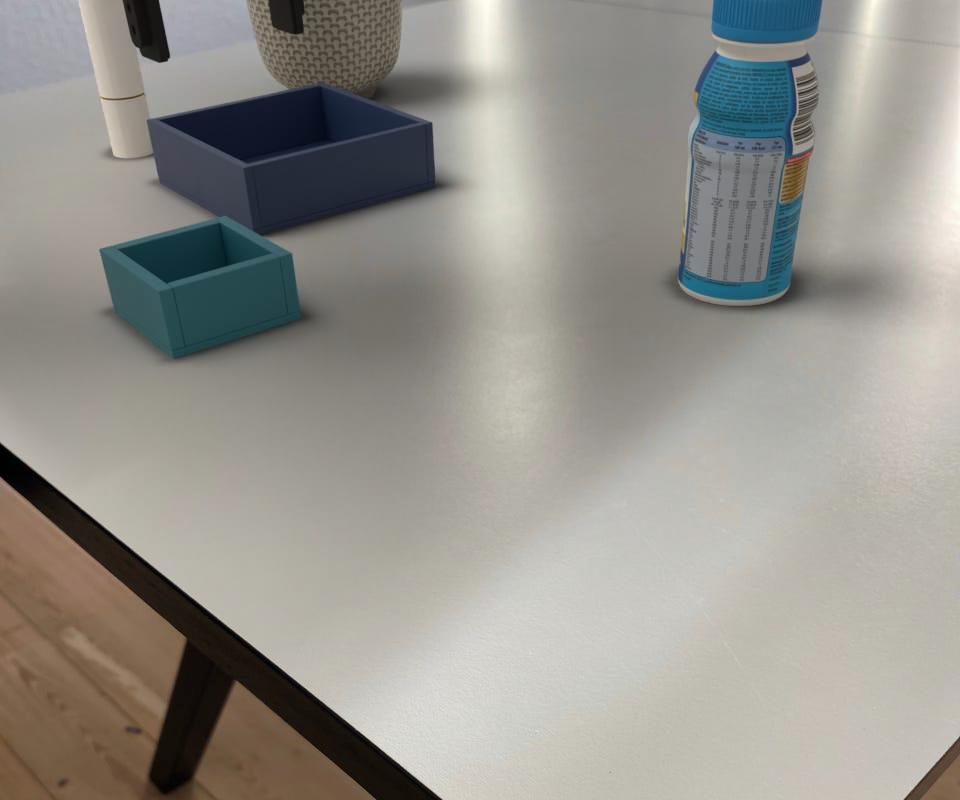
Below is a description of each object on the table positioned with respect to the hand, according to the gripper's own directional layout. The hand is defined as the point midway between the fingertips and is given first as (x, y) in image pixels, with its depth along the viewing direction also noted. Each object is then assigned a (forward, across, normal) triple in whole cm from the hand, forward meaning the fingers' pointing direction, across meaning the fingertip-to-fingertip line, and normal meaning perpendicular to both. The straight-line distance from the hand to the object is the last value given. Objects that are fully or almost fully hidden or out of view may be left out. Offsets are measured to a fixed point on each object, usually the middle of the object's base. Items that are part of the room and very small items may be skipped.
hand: (223, 44), depth 73 cm
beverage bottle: (+18, -27, +22) cm, 39 cm away
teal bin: (+17, +5, 0) cm, 18 cm away
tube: (+17, -7, -41) cm, 45 cm away
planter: (+18, -34, -44) cm, 58 cm away
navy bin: (+17, -14, -21) cm, 31 cm away
